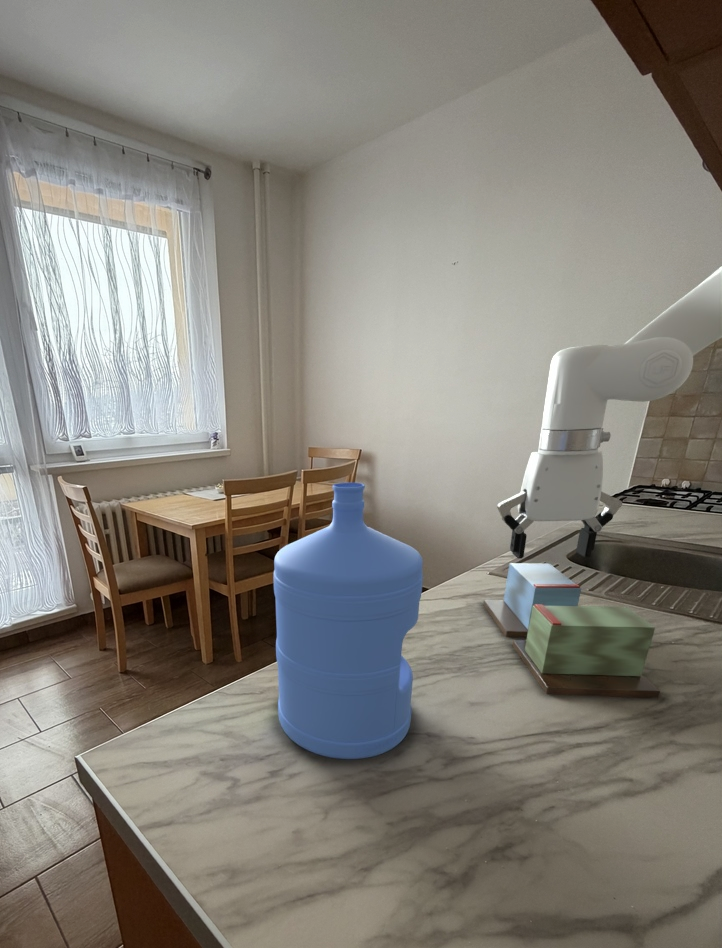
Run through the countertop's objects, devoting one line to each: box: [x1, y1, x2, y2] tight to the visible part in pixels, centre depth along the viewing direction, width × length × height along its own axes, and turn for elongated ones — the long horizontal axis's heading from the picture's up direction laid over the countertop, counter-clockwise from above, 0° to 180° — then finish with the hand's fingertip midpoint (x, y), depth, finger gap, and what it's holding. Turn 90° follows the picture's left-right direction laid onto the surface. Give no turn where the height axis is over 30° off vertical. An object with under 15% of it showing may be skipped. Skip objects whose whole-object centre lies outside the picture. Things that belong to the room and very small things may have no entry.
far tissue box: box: [503, 562, 582, 629], centre depth 79 cm, size 12×6×7 cm, turn 173°
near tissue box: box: [525, 604, 656, 676], centre depth 64 cm, size 12×6×7 cm, turn 83°
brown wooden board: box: [512, 639, 661, 699], centre depth 66 cm, size 13×13×2 cm
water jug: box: [272, 482, 424, 760], centre depth 53 cm, size 16×16×28 cm
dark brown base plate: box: [482, 599, 528, 638], centre depth 81 cm, size 13×13×2 cm
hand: (549, 555), depth 76 cm, fingers open, 9 cm apart
